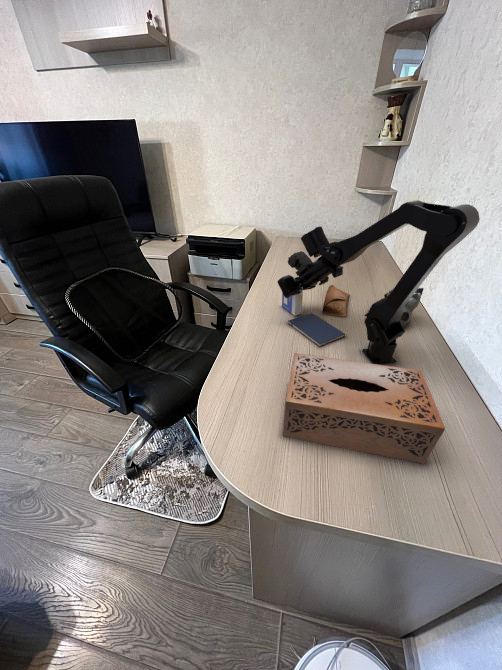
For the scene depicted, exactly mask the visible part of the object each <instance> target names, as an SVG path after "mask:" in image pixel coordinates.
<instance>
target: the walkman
mask: <svg viewBox="0 0 502 670" xmlns="http://www.w3.org/2000/svg"><path fill="white" fill-rule="evenodd" d="M288 275H289V274H287V275H284V276H282V277H285V276H288ZM293 278H295V277H294V276H293ZM300 292H301V293H300V294H297V295H294V296H292V297H289V298H285V297H284V295H283V293H282V292H281V307H282V308H283V309H284V310H285V311H287V312H288V313H289V314H291V315H293V316H294V317H295V316H301V315H302V312H303V311H302V309H303V298H304V297H303V294H304V293H303V292H304V290H303V287H302V290H300Z"/></svg>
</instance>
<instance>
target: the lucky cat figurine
mask: <svg viewBox="0 0 502 670" xmlns="http://www.w3.org/2000/svg"><path fill="white" fill-rule="evenodd" d="M393 289H394V287H393V288H391V289H389V292H385V293H384V295H383V298H385V297H386V298H387V297H388V296H389V295H390V293H391V292H392V290H393ZM424 290H425V289H424V287H419V288H418V289H417V290H416V292H415V293H414V294H413V295H412V297H411V298H410V299H409V300H408V302H407V303H406V304H405V306H404V311H403V314H402V316H401V318H400V322H401V324H402V326H403V327H404V328H405V327H408V325H409V324H410V323H411V321H412V315H413V312H414V310H415V309H416V308H417V307H418V305H420V301H421V299H422V295H423V292H424ZM383 298H381V299H383ZM369 310H370V308H369V309H366V312H367V313H368V312H369Z"/></svg>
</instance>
